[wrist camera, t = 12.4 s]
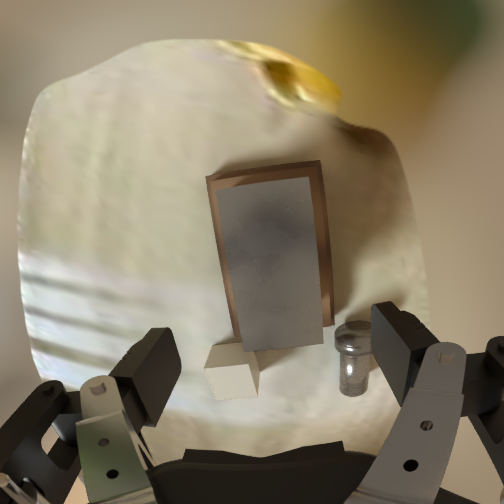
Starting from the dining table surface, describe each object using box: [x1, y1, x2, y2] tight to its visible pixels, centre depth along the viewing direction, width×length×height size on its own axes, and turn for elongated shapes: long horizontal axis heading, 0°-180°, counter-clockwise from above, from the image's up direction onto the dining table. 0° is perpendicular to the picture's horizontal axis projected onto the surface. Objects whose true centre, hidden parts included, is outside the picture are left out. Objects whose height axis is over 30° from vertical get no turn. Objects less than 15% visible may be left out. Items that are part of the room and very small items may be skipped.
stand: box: [205, 160, 335, 337], centre depth 23 cm, size 14×9×2 cm, turn 8°
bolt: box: [335, 321, 372, 397], centre depth 24 cm, size 7×4×4 cm, turn 8°
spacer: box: [204, 342, 260, 400], centre depth 25 cm, size 4×4×4 cm
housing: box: [215, 177, 323, 352], centre depth 19 cm, size 5×10×6 cm, turn 8°
